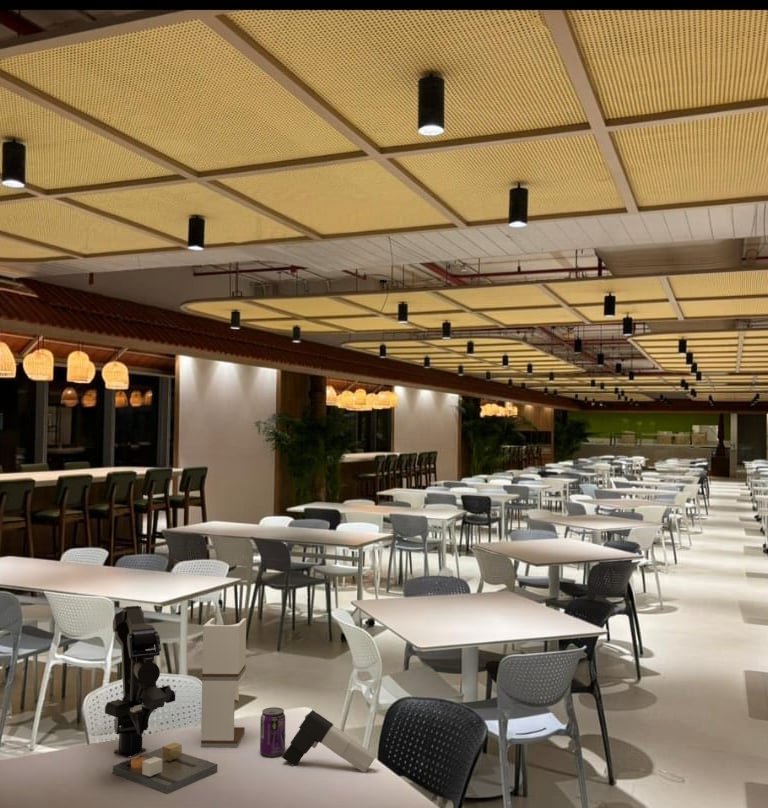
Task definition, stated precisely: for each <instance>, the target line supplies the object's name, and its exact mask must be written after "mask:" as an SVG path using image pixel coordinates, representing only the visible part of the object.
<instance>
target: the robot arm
mask: <svg viewBox="0 0 768 808" xmlns="http://www.w3.org/2000/svg"><path fill="white" fill-rule="evenodd" d="M112 630H113V631H112V632H113V633H114V635H115V636H114V637H115V640H116V641H117V643H118V644H119V645H120V648H121V649H120V651H121V667H122V669H121V671H122V697H123V698H121V699H116V700H112V701H111V700H110V701H108V702H107V703H106V705H105V707H104V713H105V715H108V716H112V717H115V718H114V723H113V725H114V732H115V733H116V735H118V749H115V750H114V751H113V753H114V754H117V755H120V756H123V757H126V758H130V757H133V756H136V755H139V754H140V753H144V752H146V751H147V748H145V747H143V734H144V732H145V731H147V730H148V728H149V721H150V716H151V714H152V713H153V712H154V711H156V710H157V709H158V708H163V707H164V706H165V704H169V703H173V702H175V701H176V692H175V691H174V690H173V689H172V688H171V686H170V685H164V686H160V687H158V685H157V681H158V680H159V678H160V676H161V675H160V674H161V670H160V667H159V666H158V664H157V663H156V662H155V657H157V656H160V655H161V650H162V646H161V639H160V635H159V632H158V631H156V628H155V627H154V626H153V625H151V624H147V622H146V620H145V613H144V612H143V609H142V606H139V605H131V606H125V607H122V610H121V611H119V612H117V613H116V614H115V615H114V617H113V621H112Z"/></svg>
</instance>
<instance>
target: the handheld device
mask: <svg viewBox="0 0 768 808" xmlns="http://www.w3.org/2000/svg"><path fill="white" fill-rule="evenodd" d="M298 728H299V730H298V731H297V732H296V734H295V735H294V737H293V738H292V740H291V741H290V745H289V746H288V748H287V749H285V751H284V752H283V754H282V756H281V758H282V759H284V760H285V761H286V762H288V763H289V765H292V766H293V767H296V766H297V765H298V764H299V763H300V761H301V760H302V758H303V757H304V756H305V754H307V753H308V752H309V750H310V749H311V748H314V749H316V747H317V746H318V745H319V743H320V744H321V745H323V746H324V747H326V748H327V749H329V750H330V751H332V752H333V753H334V754H336V755H337V756H338V757H340V758H342V759H343V760H344V761H346V762H348V763H349V764H351V765H352V766H353V767H355V768H356V769H358V770H359V771H361V772H362V773H366V772H367V770H368V769H369V768H370V766H371V765H372V763H373V761H374V760H375V759H376V757H377V756H376V755H375V754H374V753H372V752H371V751H369V749H366V748H365V747H364V746H363V745H361V744H360V743H359V742H357V741H356V740H354V739H353V738H352V737H351V736H350V735H348V734H347V733H346V732H343V731H342V730H341V729H339V728H338V727H337V726H335V725H334V723H333V722H331V721H329V720H328V719H327V718H325V717H324V716H323V715H321V714H319V713H318V712H317V711H315V710H313V709H312V710H311V711H310V712H309V713H306V715H305V716H304V720H302V722H301V724H300V725H299V727H298Z"/></svg>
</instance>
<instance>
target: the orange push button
mask: <svg viewBox="0 0 768 808" xmlns="http://www.w3.org/2000/svg"><path fill="white" fill-rule="evenodd" d="M131 759H132V760H131V768H133V769H136V770H138V769H141V768H142V763H143V761H145V760H147V758H145V757H138V756H136V757H133V758H131Z"/></svg>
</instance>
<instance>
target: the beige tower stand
mask: <svg viewBox="0 0 768 808" xmlns="http://www.w3.org/2000/svg"><path fill="white" fill-rule="evenodd" d="M246 651H247V618H245V617H243V618H242V619H241V620H240V621H239V622H238V623H234V624H226V625H222V624H221V625H219V624H216V617H211V618H210V619H209V620H208V621H207V622H206V623H205V624H204V625H202V661H201V662H202V664H201V666H202V668H201V669H202V670H201V671H202V672H201V674H202V675H201V683H202V684H201V723H200V724H201V725H200V727H201V728H200V732H201V733H200V748H201V749H202V748H207V749H209V748H212V749H213V748H215V749H216V748H219V749H223V748H224V749H227V748H228V749H229V748H230V749H238V747H239V745H240V743H241V741H242V740H243V737H245V734H246V733H245V731H246V729H245V727H243V726H242V727H241V726H239V727H238V726H237V727H236V726H235V705H237V704H238V703H239V697H240V688H239V687H240V683H241V682H242V681H243V679H244V678H245V676H246V666H247V665H246V659H247V657H246V656H247V653H246Z"/></svg>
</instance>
